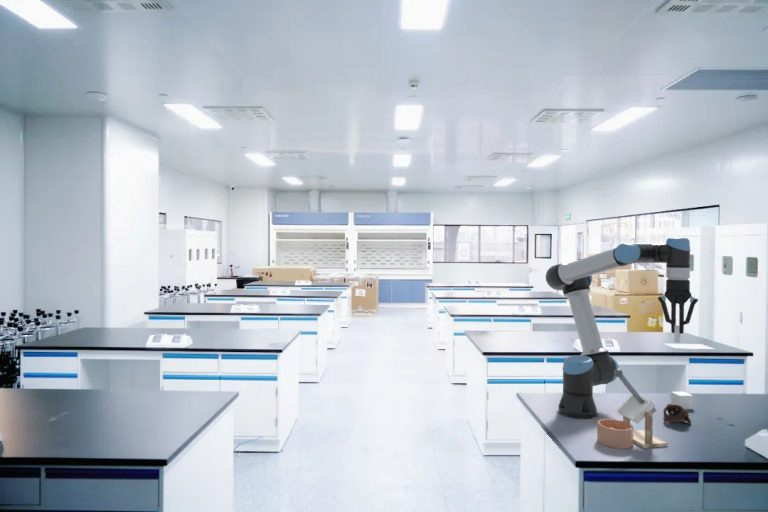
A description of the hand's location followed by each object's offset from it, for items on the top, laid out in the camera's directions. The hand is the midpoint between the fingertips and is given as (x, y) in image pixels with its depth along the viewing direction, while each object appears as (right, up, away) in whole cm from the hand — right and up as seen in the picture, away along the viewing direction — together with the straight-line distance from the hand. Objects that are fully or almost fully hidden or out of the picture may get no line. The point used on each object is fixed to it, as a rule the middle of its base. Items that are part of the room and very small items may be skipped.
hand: (677, 342), depth 178 cm
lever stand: (-16, -34, -6) cm, 39 cm away
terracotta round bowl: (-27, -34, -8) cm, 45 cm away
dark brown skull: (+7, -35, +12) cm, 37 cm away
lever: (-17, -26, -6) cm, 31 cm away
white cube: (+21, -35, +32) cm, 52 cm away
